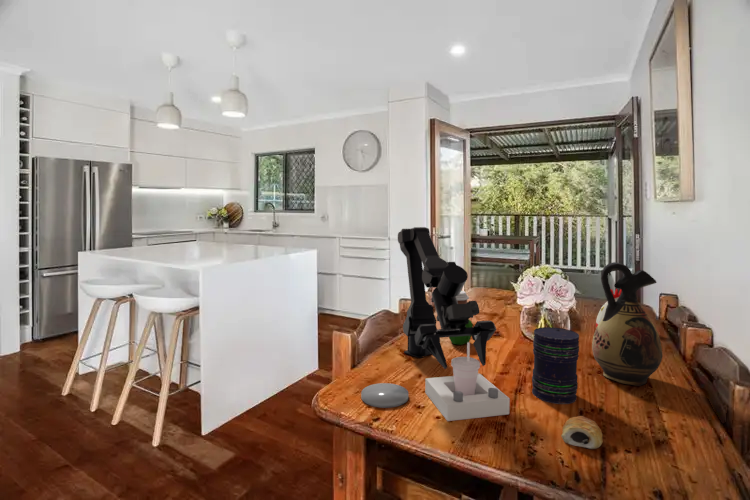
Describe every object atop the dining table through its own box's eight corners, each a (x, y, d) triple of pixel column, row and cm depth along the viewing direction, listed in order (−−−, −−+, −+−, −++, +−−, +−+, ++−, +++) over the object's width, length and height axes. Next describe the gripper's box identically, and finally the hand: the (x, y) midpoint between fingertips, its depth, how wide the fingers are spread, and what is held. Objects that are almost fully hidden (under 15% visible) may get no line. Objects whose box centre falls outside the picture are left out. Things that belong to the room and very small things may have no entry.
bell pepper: (474, 346, 133) (475, 316, 132) (449, 346, 133) (449, 316, 132) (469, 339, 142) (469, 310, 141) (445, 339, 142) (445, 310, 141)
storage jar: (574, 408, 91) (577, 341, 90) (527, 397, 96) (529, 334, 95) (579, 391, 100) (581, 330, 98) (536, 383, 105) (538, 325, 103)
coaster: (351, 396, 97) (351, 392, 97) (385, 383, 105) (385, 379, 105) (383, 412, 89) (383, 408, 89) (418, 397, 97) (418, 393, 96)
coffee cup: (444, 324, 160) (445, 293, 159) (444, 318, 169) (445, 289, 168) (469, 325, 159) (469, 294, 158) (467, 319, 168) (468, 290, 167)
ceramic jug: (649, 370, 113) (656, 261, 110) (669, 394, 98) (677, 268, 95) (580, 363, 118) (584, 259, 115) (589, 384, 104) (594, 265, 101)
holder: (425, 392, 99) (425, 372, 99) (479, 387, 102) (479, 367, 102) (447, 421, 86) (447, 397, 85) (509, 414, 88) (509, 391, 88)
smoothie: (480, 410, 90) (481, 347, 89) (450, 408, 91) (451, 345, 90) (478, 397, 96) (480, 338, 95) (450, 395, 98) (451, 337, 96)
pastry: (566, 422, 85) (567, 404, 85) (604, 431, 82) (605, 413, 82) (560, 443, 78) (561, 424, 77) (601, 455, 74) (602, 434, 74)
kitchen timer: (590, 323, 162) (591, 285, 160) (628, 324, 160) (630, 286, 159) (604, 333, 148) (606, 291, 147) (646, 334, 146) (649, 292, 145)
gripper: (418, 290, 95) (434, 352, 85) (493, 287, 99) (517, 346, 89) (408, 316, 103) (422, 375, 94) (478, 312, 107) (498, 369, 97)
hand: (465, 366), depth 93 cm, fingers open, 9 cm apart
